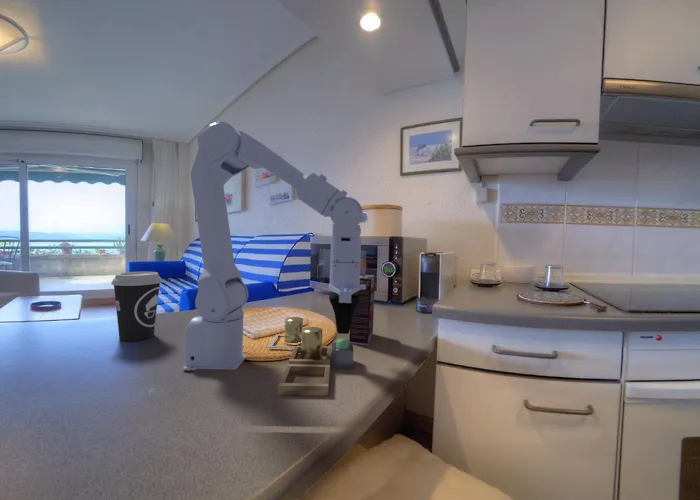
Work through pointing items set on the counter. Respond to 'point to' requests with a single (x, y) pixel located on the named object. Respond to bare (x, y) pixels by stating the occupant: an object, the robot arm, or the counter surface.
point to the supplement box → (363, 313)
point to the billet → (293, 329)
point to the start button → (342, 343)
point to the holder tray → (306, 375)
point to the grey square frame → (278, 346)
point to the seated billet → (311, 343)
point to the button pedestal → (342, 357)
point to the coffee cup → (136, 304)
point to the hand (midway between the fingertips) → (343, 332)
